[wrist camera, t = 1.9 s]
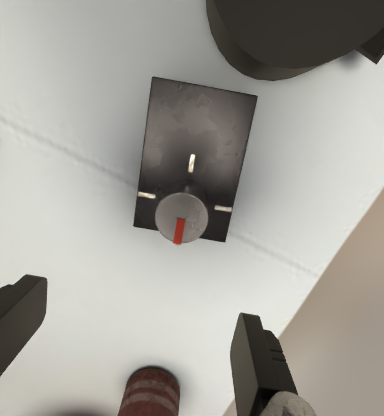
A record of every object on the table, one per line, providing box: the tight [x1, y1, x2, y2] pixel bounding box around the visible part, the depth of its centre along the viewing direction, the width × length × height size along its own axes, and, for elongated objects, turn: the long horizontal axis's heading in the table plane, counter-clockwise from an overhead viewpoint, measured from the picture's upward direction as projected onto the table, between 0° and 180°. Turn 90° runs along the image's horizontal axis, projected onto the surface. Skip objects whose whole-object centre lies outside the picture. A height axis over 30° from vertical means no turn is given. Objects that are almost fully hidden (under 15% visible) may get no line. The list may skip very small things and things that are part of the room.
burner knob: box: [155, 180, 208, 245], centre depth 22 cm, size 4×4×5 cm
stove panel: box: [133, 77, 258, 245], centre depth 25 cm, size 13×8×3 cm, turn 170°
